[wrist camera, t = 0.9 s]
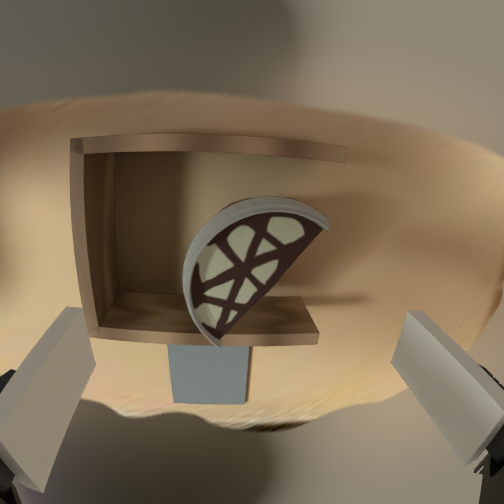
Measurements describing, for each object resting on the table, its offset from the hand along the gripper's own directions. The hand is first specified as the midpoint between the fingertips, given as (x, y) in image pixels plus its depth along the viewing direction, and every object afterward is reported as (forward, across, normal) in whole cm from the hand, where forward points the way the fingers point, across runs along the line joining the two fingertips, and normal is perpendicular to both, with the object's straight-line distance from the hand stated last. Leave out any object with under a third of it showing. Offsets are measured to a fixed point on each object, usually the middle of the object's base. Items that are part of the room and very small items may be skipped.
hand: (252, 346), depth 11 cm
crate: (+18, -3, 0) cm, 19 cm away
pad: (+18, -2, -16) cm, 24 cm away
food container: (+19, 0, 0) cm, 19 cm away
